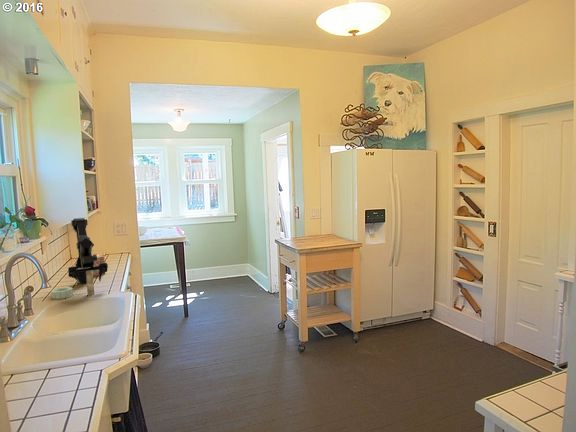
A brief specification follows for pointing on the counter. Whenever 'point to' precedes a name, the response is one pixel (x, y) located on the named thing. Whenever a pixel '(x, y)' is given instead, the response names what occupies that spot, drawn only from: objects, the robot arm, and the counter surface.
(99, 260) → the beige printed box
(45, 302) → the counter surface
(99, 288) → the counter surface
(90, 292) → the peg
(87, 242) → the robot arm
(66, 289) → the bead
